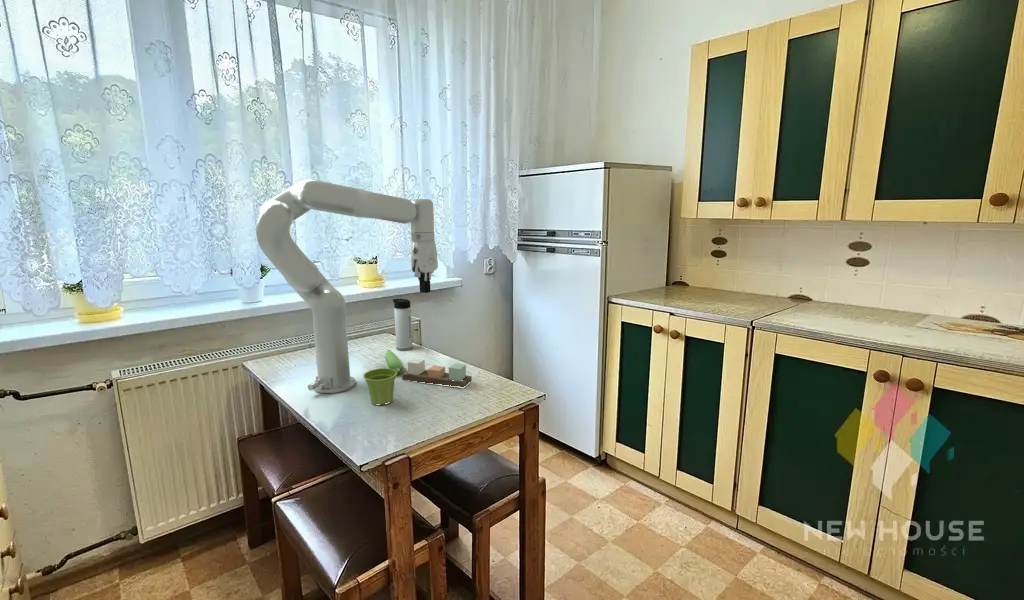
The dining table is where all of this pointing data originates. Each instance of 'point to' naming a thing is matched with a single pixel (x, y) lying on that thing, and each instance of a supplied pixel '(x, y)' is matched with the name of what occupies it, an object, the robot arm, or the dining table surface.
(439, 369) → the terracotta block
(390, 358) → the edible corn
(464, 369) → the sage block
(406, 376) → the button board
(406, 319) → the travel mug
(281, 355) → the dining table surface
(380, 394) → the plant pot
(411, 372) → the ivory block
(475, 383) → the dining table surface
